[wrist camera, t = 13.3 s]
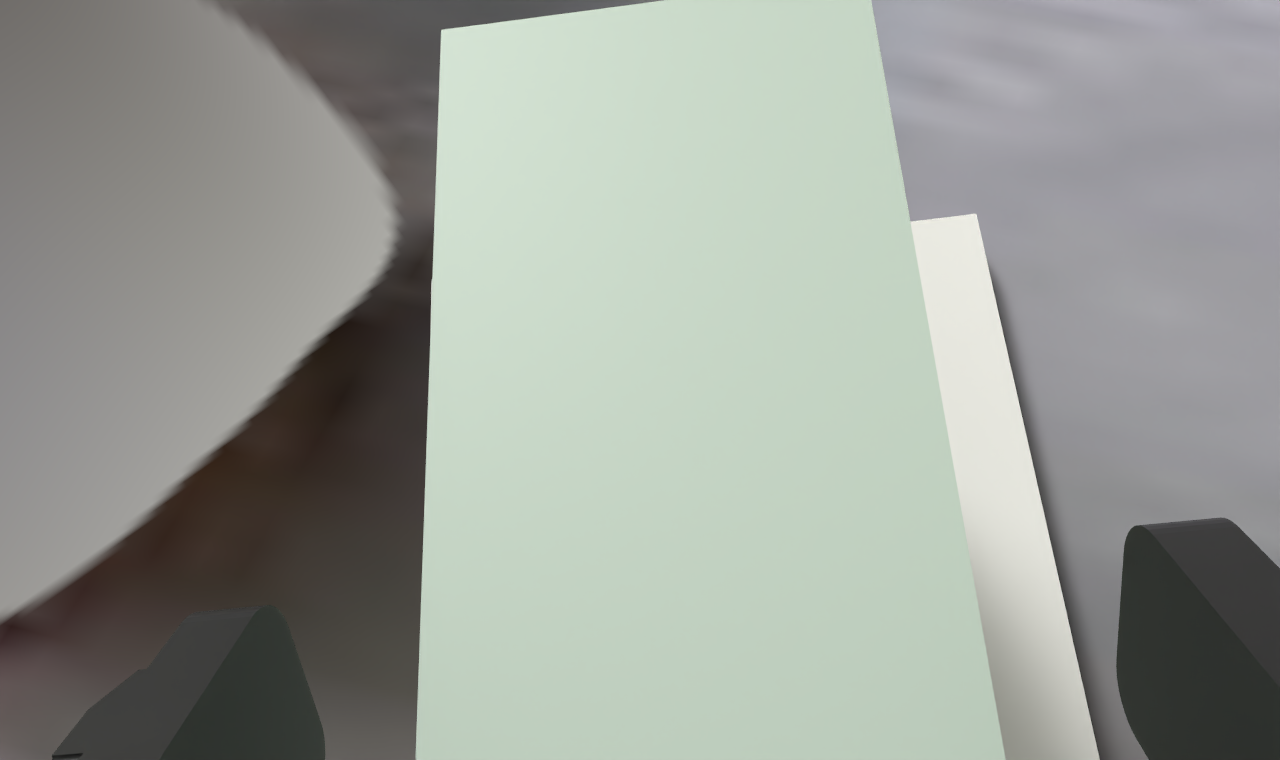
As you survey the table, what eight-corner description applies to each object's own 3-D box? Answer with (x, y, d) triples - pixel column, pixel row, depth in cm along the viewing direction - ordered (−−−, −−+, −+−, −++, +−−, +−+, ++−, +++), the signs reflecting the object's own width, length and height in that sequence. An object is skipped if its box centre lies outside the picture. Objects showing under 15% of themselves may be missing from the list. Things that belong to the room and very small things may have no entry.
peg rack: (440, 1081, 20) (354, 1164, 16) (449, 304, 27) (389, 220, 23) (1141, 1053, 19) (1246, 1135, 15) (965, 243, 26) (1002, 142, 21)
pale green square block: (604, 877, 17) (406, 1011, 8) (588, 355, 21) (440, 30, 12) (894, 865, 17) (1047, 992, 7) (824, 333, 20) (866, -27, 11)
